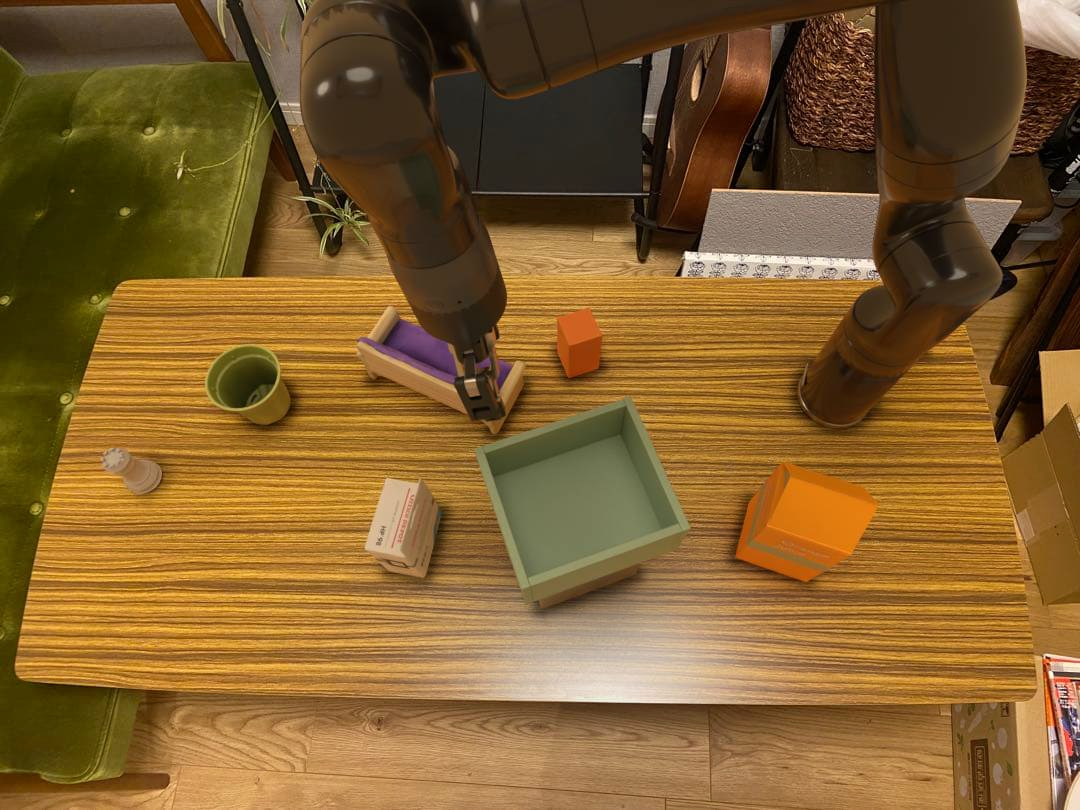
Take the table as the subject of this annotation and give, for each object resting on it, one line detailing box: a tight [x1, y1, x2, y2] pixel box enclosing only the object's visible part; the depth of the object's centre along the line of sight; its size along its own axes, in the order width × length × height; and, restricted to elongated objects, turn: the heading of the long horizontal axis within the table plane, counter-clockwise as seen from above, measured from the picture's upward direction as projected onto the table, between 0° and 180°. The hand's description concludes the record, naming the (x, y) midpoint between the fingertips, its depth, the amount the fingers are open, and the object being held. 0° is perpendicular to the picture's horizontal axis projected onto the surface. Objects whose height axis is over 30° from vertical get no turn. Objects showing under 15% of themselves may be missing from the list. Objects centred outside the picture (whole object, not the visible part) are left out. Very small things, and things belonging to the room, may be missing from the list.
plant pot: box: [204, 343, 292, 426], centre depth 92 cm, size 9×9×9 cm
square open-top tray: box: [473, 395, 692, 605], centre depth 67 cm, size 16×14×8 cm
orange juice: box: [734, 461, 880, 583], centre depth 77 cm, size 8×9×20 cm
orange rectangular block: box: [556, 307, 603, 379], centre depth 94 cm, size 4×4×9 cm
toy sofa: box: [355, 305, 527, 435], centre depth 92 cm, size 21×9×10 cm, turn 64°
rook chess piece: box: [100, 447, 163, 495], centre depth 88 cm, size 4×4×8 cm
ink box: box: [364, 477, 443, 578], centre depth 81 cm, size 9×5×15 cm, turn 168°
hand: (492, 375), depth 67 cm, fingers open, 8 cm apart
